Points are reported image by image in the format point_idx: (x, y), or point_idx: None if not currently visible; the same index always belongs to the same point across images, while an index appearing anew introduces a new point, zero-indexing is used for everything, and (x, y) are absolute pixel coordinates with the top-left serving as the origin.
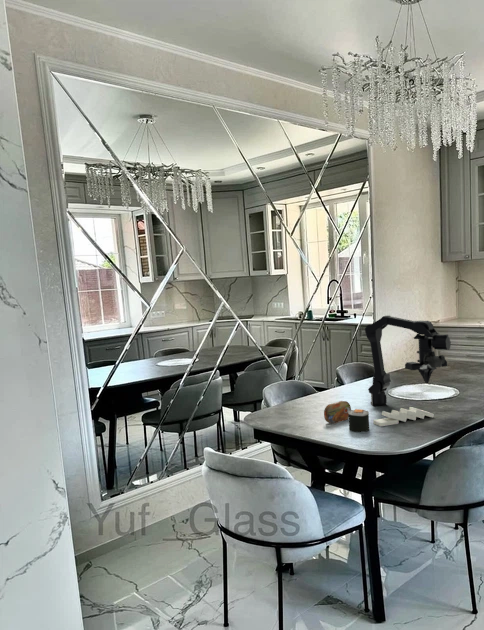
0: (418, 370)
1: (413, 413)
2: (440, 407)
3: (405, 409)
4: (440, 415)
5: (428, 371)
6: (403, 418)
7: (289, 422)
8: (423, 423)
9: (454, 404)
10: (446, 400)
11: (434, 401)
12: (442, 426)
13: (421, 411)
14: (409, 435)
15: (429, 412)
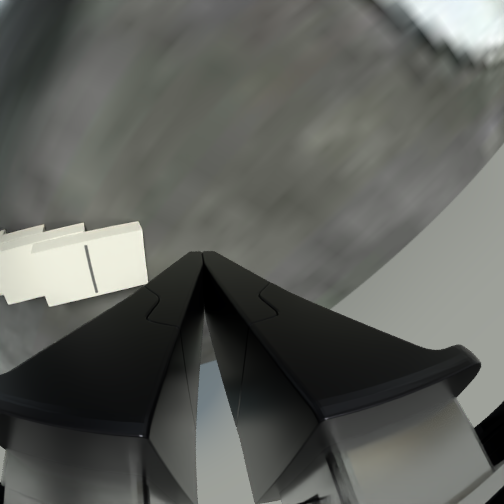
0: (48, 351)
1: (38, 293)
2: (314, 141)
3: (6, 274)
4: None
5: (241, 431)
6: None
7: None
8: (72, 313)
9: (403, 144)
10: (430, 72)
11: (381, 37)
12: None
13: (74, 297)
14: (14, 360)
15: (143, 254)
